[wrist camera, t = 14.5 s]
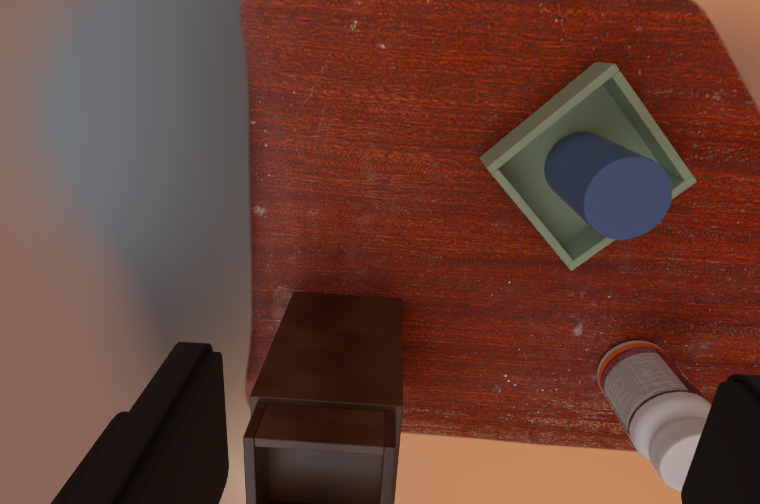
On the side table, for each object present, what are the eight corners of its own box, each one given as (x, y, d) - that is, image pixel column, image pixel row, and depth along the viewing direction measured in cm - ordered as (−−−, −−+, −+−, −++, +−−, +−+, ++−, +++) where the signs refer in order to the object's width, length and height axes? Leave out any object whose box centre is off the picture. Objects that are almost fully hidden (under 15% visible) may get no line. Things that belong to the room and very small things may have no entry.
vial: (530, 162, 39) (566, 195, 31) (588, 116, 38) (642, 138, 29) (569, 211, 40) (614, 256, 32) (626, 169, 39) (689, 203, 31)
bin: (478, 157, 39) (486, 167, 36) (595, 61, 37) (614, 63, 34) (557, 253, 42) (571, 271, 39) (672, 170, 39) (697, 181, 36)
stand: (293, 382, 47) (241, 552, 32) (293, 291, 44) (235, 431, 28) (393, 389, 47) (392, 562, 31) (401, 298, 44) (403, 442, 28)
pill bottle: (673, 385, 46) (755, 486, 36) (603, 406, 47) (662, 510, 37) (659, 327, 44) (741, 416, 34) (586, 350, 45) (643, 444, 35)
